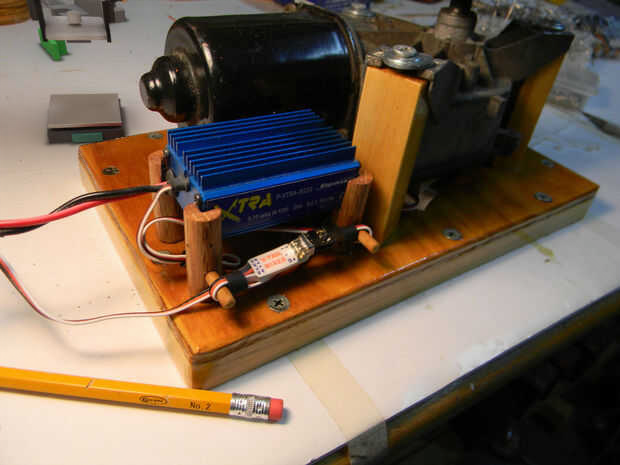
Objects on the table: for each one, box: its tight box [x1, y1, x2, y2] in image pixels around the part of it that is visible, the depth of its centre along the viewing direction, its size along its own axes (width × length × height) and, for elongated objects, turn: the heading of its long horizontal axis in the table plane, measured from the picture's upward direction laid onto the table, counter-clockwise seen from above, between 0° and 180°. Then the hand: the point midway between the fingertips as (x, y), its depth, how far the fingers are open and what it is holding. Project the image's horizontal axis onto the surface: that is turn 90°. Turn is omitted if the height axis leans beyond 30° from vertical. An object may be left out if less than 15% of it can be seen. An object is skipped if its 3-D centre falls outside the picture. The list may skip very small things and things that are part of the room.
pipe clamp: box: [37, 27, 69, 61], centre depth 116 cm, size 11×4×5 cm, turn 39°
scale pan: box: [47, 92, 122, 129], centre depth 91 cm, size 12×12×1 cm
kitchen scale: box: [46, 98, 126, 144], centre depth 92 cm, size 13×14×3 cm
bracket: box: [49, 0, 127, 25], centre depth 134 cm, size 10×18×11 cm, turn 135°
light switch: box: [44, 11, 108, 44], centre depth 85 cm, size 10×10×5 cm
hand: (78, 39), depth 87 cm, fingers closed on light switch, 10 cm apart
